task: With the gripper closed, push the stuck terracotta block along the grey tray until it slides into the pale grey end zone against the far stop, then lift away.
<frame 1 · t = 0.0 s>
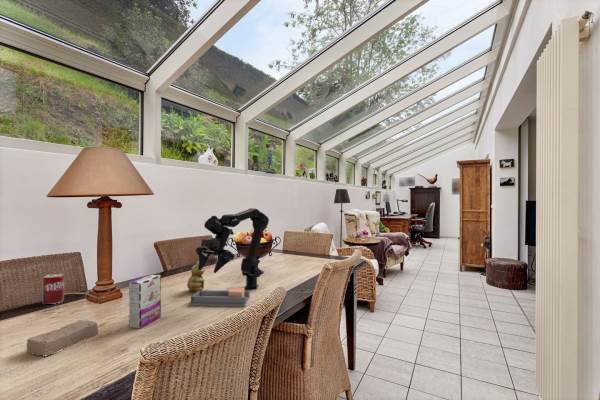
hand: (206, 271, 125), 15 cm above the table, fingers open, 9 cm apart
soda can: (53, 303, 127), on the table
grey tray: (221, 301, 130), on the table
jammed block: (236, 294, 130), point 3 cm above the table, slide at 0.0 cm
brick: (64, 344, 92), on the table
decorative figurine: (195, 291, 146), on the table
candy bar box: (145, 322, 108), on the table
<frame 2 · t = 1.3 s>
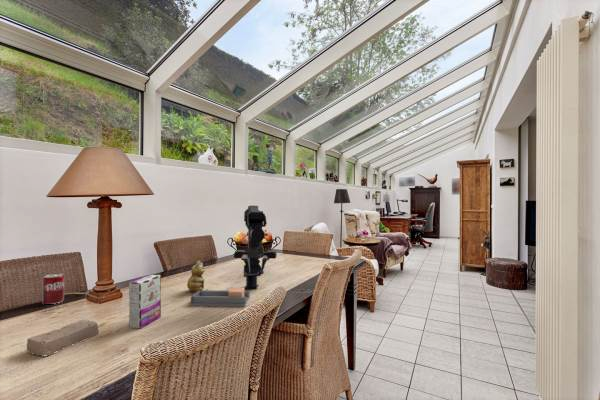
hand: (255, 273, 130), 13 cm above the table, fingers open, 5 cm apart
nothing on the table moved.
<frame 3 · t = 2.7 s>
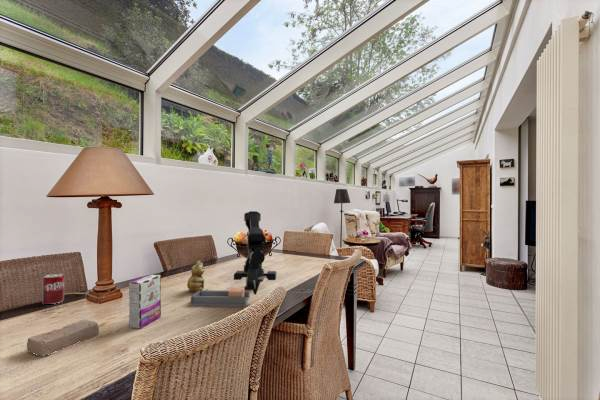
hand: (255, 294, 130), 3 cm above the table, fingers closed
nothing on the table moved.
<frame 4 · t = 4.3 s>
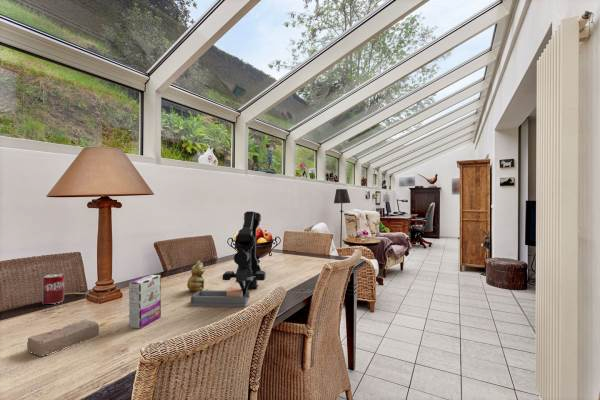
hand: (244, 294, 130), 3 cm above the table, fingers closed
jammed block: (234, 294, 130), point 3 cm above the table, slide at 0.9 cm, touching gripper
everything else where it was.
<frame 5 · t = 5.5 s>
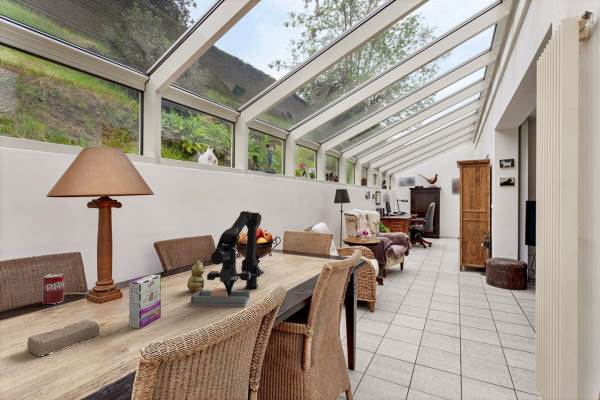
hand: (229, 294, 130), 3 cm above the table, fingers closed
jammed block: (219, 293, 130), point 3 cm above the table, slide at 7.8 cm, touching gripper
everything else where it was.
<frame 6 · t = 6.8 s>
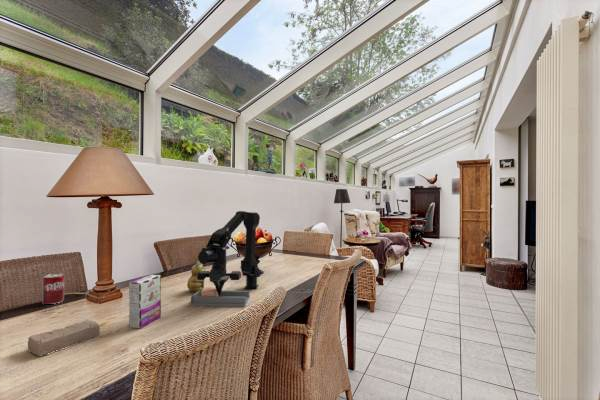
hand: (219, 294, 130), 3 cm above the table, fingers closed
jammed block: (209, 293, 131), point 3 cm above the table, slide at 12.3 cm, touching gripper
everything else where it was.
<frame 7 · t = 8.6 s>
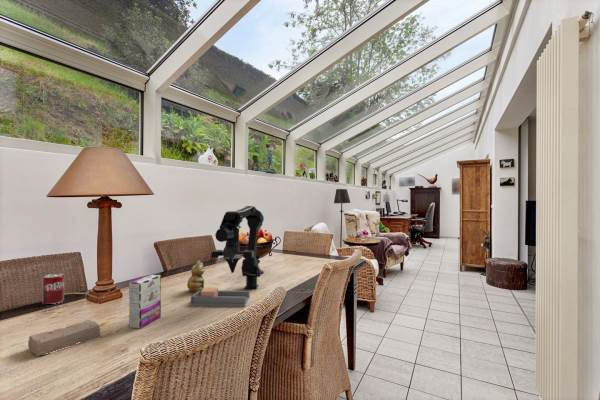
hand: (232, 272, 132), 13 cm above the table, fingers closed
jammed block: (209, 293, 131), point 3 cm above the table, slide at 12.3 cm
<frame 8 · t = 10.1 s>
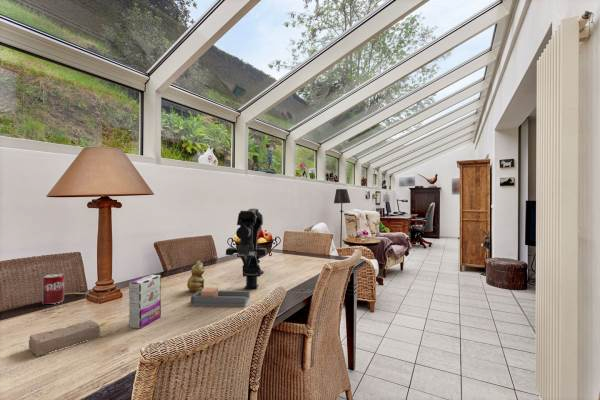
hand: (246, 269, 137), 13 cm above the table, fingers closed
at the end: jammed block slide at 12.3 cm; jammed block inside the target area (0.4 cm from its centre), resting on grey tray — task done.
